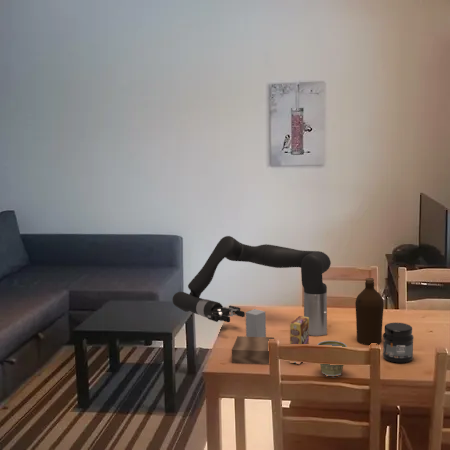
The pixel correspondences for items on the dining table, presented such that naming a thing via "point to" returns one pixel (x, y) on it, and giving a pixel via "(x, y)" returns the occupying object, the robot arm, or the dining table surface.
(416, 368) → the dining table surface
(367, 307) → the olive oil
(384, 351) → the supplement container
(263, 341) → the walnut plinth
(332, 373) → the ceramic cup
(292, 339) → the candy box
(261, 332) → the grey block
